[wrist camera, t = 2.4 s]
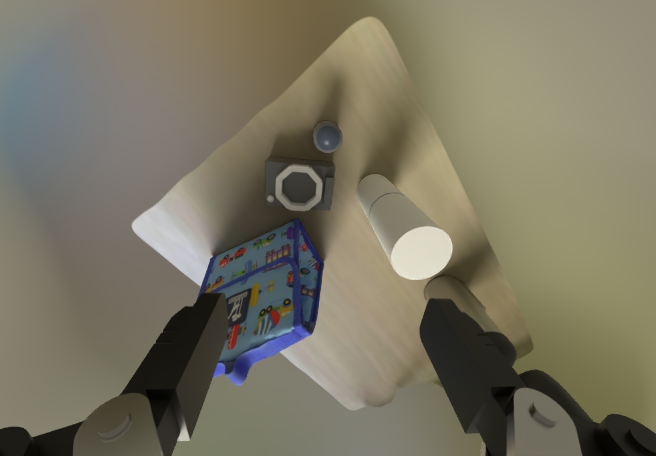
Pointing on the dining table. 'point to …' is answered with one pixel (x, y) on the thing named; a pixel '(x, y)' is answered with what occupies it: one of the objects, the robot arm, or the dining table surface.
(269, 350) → the lunch bag
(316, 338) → the dining table surface
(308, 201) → the camera body
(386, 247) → the cylindrical container
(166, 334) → the robot arm
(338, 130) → the lens
